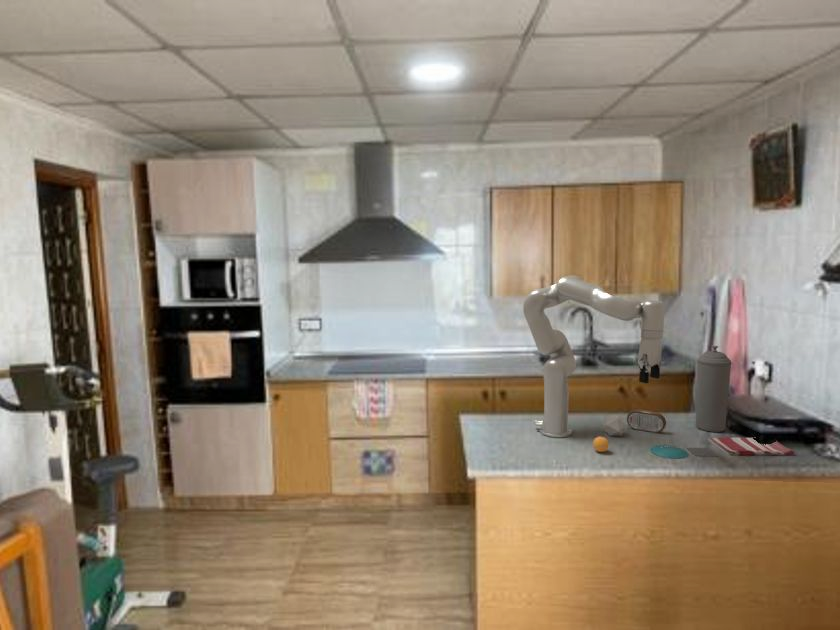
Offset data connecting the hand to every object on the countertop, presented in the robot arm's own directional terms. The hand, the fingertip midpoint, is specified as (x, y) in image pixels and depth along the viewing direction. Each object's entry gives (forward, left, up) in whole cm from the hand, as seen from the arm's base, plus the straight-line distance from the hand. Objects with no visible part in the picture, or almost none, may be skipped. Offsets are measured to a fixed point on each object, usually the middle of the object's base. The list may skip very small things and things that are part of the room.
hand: (649, 380), depth 205 cm
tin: (-2, +23, -27) cm, 36 cm away
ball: (-15, -9, -24) cm, 30 cm away
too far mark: (+19, +6, -27) cm, 33 cm away
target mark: (+8, +1, -27) cm, 28 cm away
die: (-13, +13, -27) cm, 33 cm away
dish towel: (+35, +19, -28) cm, 49 cm away
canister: (+22, +37, -27) cm, 51 cm away
